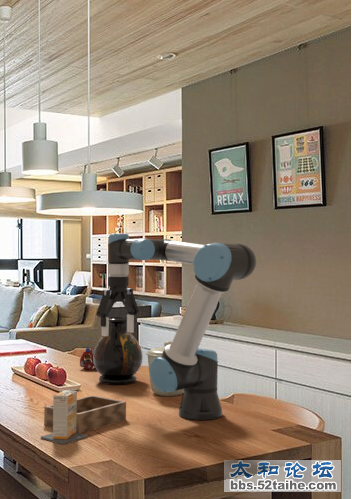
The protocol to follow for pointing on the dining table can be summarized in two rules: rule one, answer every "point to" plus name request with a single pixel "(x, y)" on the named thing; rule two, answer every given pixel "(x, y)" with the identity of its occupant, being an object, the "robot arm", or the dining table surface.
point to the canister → (151, 356)
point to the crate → (92, 413)
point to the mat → (63, 441)
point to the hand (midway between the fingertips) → (117, 334)
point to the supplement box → (64, 414)
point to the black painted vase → (117, 354)
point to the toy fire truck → (87, 359)
